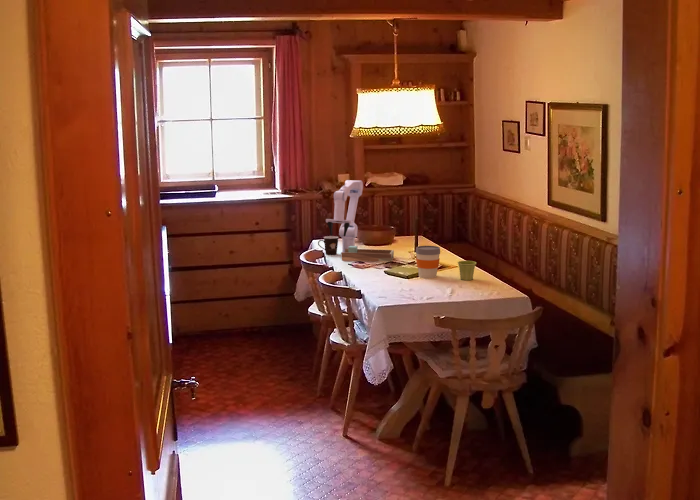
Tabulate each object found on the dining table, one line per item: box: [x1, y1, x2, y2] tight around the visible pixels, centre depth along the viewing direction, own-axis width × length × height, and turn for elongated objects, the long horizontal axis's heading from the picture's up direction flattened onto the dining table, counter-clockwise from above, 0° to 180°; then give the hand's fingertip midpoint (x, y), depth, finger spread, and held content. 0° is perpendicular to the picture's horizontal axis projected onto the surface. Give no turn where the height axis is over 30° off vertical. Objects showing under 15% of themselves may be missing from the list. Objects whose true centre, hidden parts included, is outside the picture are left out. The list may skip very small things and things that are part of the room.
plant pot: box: [457, 260, 477, 281], centre depth 431 cm, size 9×9×9 cm
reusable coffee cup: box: [415, 245, 441, 279], centre depth 437 cm, size 12×13×15 cm
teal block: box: [348, 245, 358, 253], centre depth 488 cm, size 4×4×4 cm
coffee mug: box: [317, 235, 339, 256], centre depth 500 cm, size 12×9×10 cm
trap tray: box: [341, 248, 395, 262], centre depth 485 cm, size 13×28×4 cm, turn 81°
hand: (337, 235), depth 484 cm, fingers open, 7 cm apart
